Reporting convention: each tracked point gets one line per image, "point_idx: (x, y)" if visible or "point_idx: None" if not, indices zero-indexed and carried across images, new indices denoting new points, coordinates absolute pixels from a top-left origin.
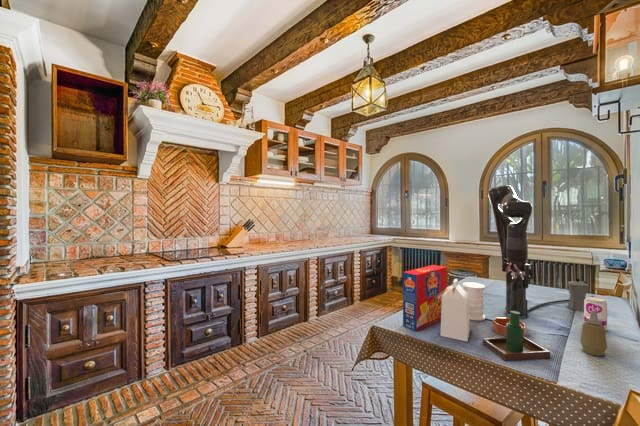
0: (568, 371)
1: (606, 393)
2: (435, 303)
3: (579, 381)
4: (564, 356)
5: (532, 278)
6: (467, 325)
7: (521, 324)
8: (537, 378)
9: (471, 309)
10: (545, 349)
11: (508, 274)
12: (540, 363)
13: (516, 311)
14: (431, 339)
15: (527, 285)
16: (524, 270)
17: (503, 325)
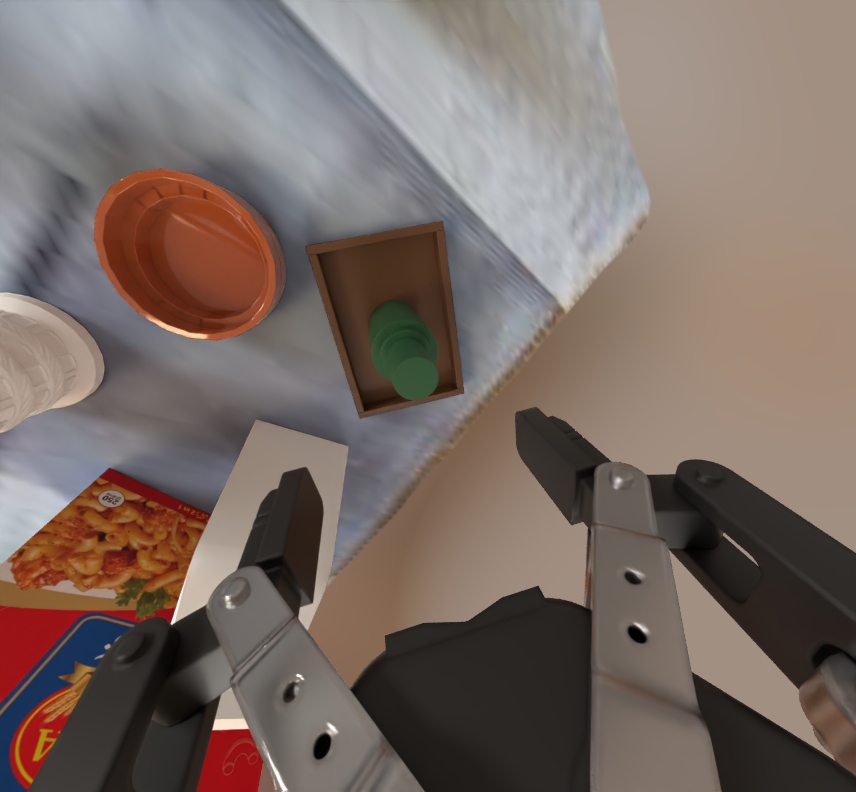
0: (518, 223)
1: (620, 198)
2: (156, 578)
3: (565, 232)
4: (420, 143)
5: (712, 470)
6: (325, 473)
7: (167, 180)
8: (540, 344)
9: (41, 396)
10: (425, 228)
11: (300, 594)
12: (472, 286)
13: (403, 365)
14: (351, 527)
15: (569, 435)
16: (629, 610)
17: (147, 258)
